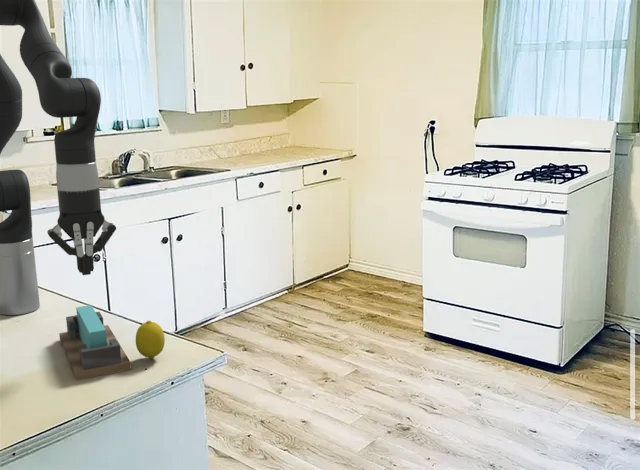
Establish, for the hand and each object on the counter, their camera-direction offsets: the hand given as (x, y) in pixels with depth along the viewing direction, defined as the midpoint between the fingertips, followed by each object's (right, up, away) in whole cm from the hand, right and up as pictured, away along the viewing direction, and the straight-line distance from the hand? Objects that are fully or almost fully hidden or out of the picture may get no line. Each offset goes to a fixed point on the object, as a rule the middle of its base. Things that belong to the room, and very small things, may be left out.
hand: (85, 273), depth 133 cm
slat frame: (0, -16, +4) cm, 17 cm away
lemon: (+12, -17, +1) cm, 21 cm away
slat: (0, -15, +4) cm, 15 cm away
